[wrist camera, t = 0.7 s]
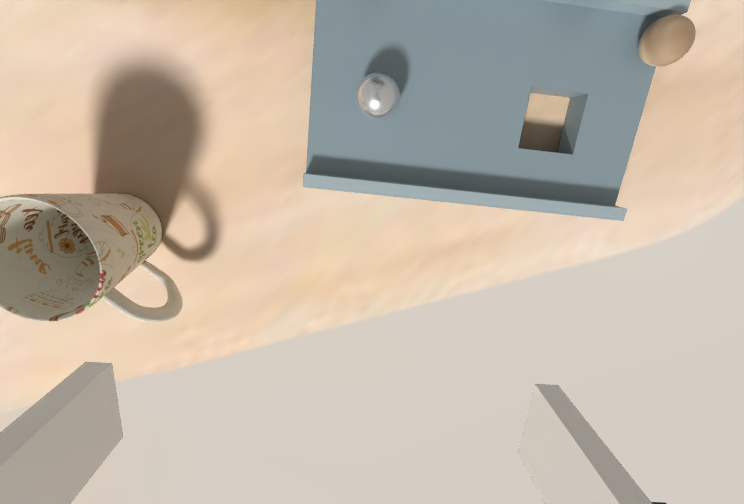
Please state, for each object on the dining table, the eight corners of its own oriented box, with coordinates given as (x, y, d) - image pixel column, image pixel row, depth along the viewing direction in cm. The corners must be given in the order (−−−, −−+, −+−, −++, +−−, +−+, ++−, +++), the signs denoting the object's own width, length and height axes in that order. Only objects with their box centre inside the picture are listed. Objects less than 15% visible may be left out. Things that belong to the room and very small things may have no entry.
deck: (322, -33, 28) (317, -61, 24) (648, 15, 29) (692, -5, 26) (309, 181, 32) (302, 186, 28) (593, 212, 34) (623, 220, 30)
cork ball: (635, 20, 27) (670, 4, 24) (675, 26, 27) (715, 11, 24) (622, 67, 28) (654, 58, 25) (661, 72, 28) (698, 64, 25)
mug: (114, 158, 31) (5, 165, 21) (233, 257, 34) (183, 303, 24) (59, 228, 32) (-65, 263, 23) (178, 317, 35) (110, 382, 26)
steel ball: (357, 74, 28) (357, 65, 24) (400, 79, 28) (405, 71, 25) (353, 119, 28) (353, 116, 25) (394, 124, 29) (399, 121, 26)
